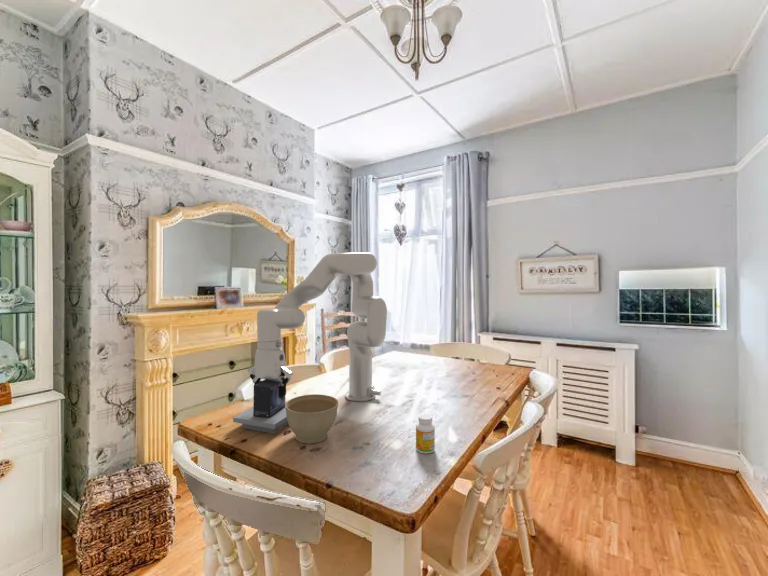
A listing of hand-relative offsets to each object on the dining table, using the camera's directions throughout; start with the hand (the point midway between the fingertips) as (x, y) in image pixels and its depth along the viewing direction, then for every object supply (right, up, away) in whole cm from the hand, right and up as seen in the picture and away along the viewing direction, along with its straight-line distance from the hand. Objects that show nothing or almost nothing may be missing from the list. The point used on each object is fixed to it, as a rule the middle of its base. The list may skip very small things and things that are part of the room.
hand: (270, 394), depth 117 cm
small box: (0, -6, 0) cm, 6 cm away
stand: (0, -10, 0) cm, 10 cm away
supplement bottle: (+51, -11, -17) cm, 55 cm away
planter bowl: (+16, -10, -10) cm, 22 cm away
